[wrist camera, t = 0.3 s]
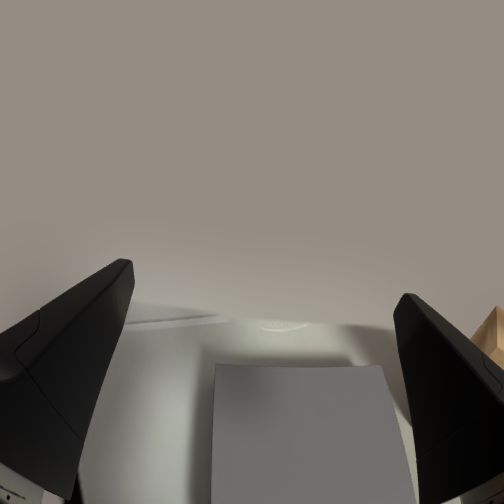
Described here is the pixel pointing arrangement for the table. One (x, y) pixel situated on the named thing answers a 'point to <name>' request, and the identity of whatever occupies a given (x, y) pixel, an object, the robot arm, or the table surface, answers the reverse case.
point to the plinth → (306, 437)
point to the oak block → (491, 337)
